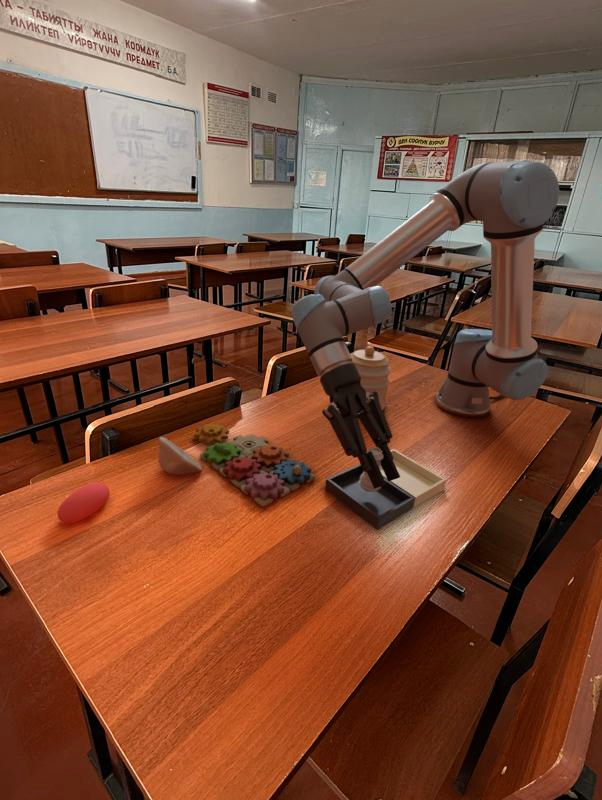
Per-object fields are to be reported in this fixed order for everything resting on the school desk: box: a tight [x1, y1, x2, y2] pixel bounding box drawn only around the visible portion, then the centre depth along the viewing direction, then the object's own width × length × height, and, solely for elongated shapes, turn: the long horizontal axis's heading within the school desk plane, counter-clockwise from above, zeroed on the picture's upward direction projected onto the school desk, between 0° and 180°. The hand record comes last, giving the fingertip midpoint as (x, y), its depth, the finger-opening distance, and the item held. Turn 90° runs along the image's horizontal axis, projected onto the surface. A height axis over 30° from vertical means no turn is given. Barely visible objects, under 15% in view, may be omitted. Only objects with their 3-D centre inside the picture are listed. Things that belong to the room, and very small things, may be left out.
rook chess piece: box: [359, 446, 384, 492], centre depth 83 cm, size 4×4×8 cm
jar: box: [350, 345, 392, 412], centre depth 120 cm, size 13×13×18 cm
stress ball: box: [56, 481, 111, 524], centre depth 76 cm, size 5×9×6 cm, turn 145°
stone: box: [158, 436, 203, 476], centre depth 88 cm, size 10×7×10 cm
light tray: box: [379, 448, 447, 509], centre depth 92 cm, size 10×14×2 cm
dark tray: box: [324, 463, 415, 530], centre depth 85 cm, size 10×14×2 cm
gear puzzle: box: [193, 423, 316, 508], centre depth 94 cm, size 31×16×4 cm, turn 45°
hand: (387, 482), depth 81 cm, fingers closed on rook chess piece, 3 cm apart
